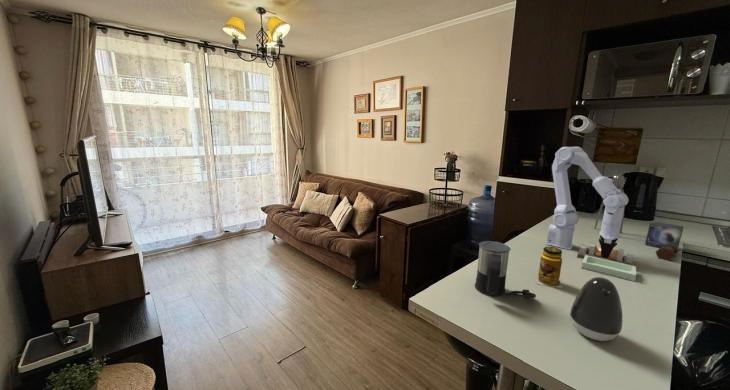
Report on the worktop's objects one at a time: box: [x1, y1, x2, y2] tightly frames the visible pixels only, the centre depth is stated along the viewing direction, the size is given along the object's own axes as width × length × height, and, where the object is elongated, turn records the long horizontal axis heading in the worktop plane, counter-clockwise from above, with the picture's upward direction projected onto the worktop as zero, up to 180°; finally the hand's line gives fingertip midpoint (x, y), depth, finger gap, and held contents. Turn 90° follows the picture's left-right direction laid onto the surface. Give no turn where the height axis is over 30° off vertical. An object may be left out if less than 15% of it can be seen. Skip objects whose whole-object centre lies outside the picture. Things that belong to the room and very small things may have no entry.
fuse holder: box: [576, 243, 634, 266], centre depth 119 cm, size 17×11×4 cm, turn 49°
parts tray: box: [581, 255, 637, 282], centre depth 110 cm, size 15×9×2 cm, turn 49°
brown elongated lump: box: [655, 244, 680, 262], centre depth 124 cm, size 6×5×15 cm
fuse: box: [588, 242, 625, 262], centre depth 119 cm, size 10×5×5 cm, turn 49°
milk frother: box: [474, 240, 537, 299], centre depth 92 cm, size 14×16×15 cm
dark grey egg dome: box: [569, 276, 623, 342], centre depth 73 cm, size 10×10×15 cm
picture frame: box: [644, 220, 684, 249], centre depth 133 cm, size 11×6×10 cm, turn 41°
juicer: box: [594, 174, 626, 234], centre depth 148 cm, size 10×11×30 cm
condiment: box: [533, 245, 564, 289], centre depth 100 cm, size 7×8×12 cm
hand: (605, 255), depth 119 cm, fingers closed on fuse, 4 cm apart
